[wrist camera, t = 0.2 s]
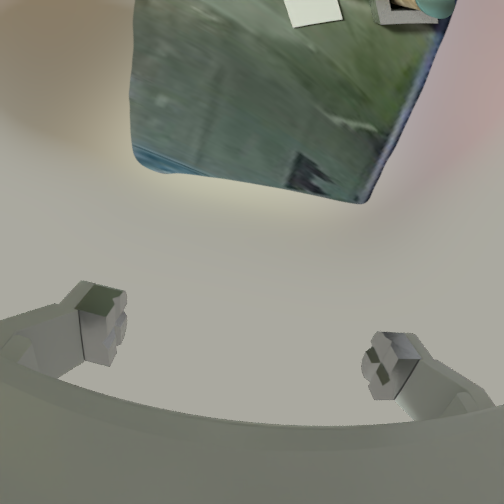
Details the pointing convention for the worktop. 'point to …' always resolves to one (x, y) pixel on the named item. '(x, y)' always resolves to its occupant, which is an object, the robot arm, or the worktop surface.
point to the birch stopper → (429, 6)
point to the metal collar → (397, 14)
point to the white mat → (312, 11)
